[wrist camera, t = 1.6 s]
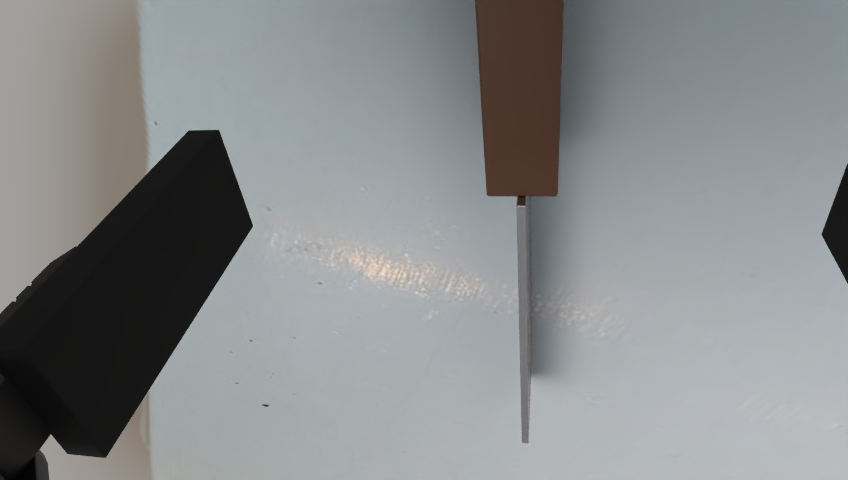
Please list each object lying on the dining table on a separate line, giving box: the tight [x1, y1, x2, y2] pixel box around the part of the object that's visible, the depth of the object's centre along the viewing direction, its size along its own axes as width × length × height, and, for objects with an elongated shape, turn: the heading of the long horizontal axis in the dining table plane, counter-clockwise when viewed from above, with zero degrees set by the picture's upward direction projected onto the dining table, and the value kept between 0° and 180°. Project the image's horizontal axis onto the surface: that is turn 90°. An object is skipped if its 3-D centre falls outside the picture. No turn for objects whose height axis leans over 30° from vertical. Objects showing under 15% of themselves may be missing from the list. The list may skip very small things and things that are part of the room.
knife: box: [475, 0, 563, 443], centre depth 23 cm, size 24×2×4 cm, turn 7°
